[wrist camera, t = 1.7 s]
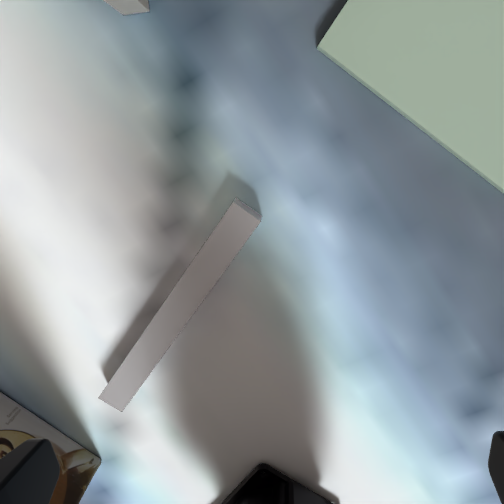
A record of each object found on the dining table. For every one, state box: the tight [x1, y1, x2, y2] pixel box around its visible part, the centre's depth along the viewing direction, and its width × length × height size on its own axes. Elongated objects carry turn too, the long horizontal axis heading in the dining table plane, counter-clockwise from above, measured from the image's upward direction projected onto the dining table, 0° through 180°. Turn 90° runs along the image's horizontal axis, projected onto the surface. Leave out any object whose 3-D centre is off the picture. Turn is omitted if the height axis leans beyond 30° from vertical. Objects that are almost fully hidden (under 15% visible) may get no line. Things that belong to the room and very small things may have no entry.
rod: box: [99, 198, 262, 412], centre depth 20 cm, size 14×2×2 cm, turn 145°
